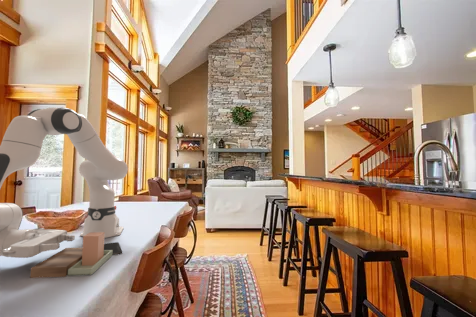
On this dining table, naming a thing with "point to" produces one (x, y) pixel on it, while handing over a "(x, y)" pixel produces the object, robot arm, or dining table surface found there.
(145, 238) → the dining table surface
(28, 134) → the robot arm
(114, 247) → the phone
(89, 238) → the terracotta block
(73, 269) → the box
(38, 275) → the platform
